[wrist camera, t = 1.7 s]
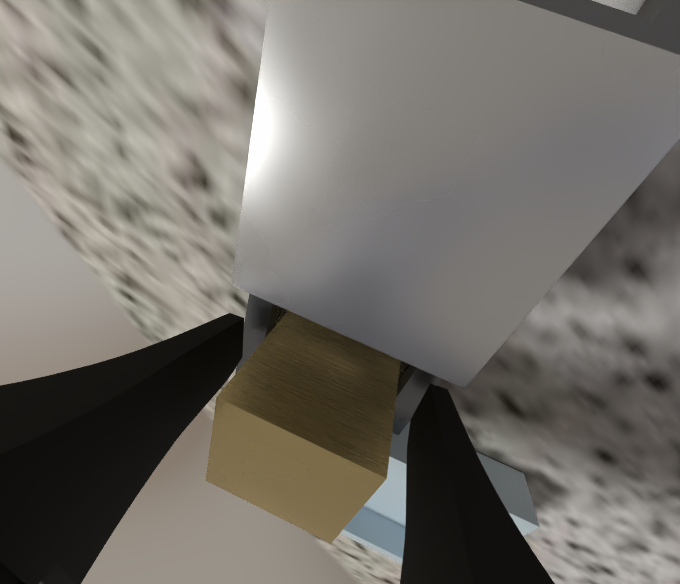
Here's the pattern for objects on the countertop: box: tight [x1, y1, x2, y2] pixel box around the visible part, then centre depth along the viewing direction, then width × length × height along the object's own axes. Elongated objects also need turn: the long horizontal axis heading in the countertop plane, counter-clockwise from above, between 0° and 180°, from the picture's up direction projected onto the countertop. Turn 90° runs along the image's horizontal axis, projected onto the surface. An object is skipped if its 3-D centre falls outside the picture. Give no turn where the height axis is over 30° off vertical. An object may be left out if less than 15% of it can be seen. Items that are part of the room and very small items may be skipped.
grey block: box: [232, 0, 680, 388], centre depth 6 cm, size 4×4×6 cm
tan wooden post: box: [206, 310, 401, 543], centre depth 10 cm, size 4×4×6 cm
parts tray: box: [340, 421, 540, 564], centre depth 14 cm, size 8×8×2 cm
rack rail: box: [235, 0, 680, 435], centre depth 8 cm, size 8×22×1 cm, turn 161°
